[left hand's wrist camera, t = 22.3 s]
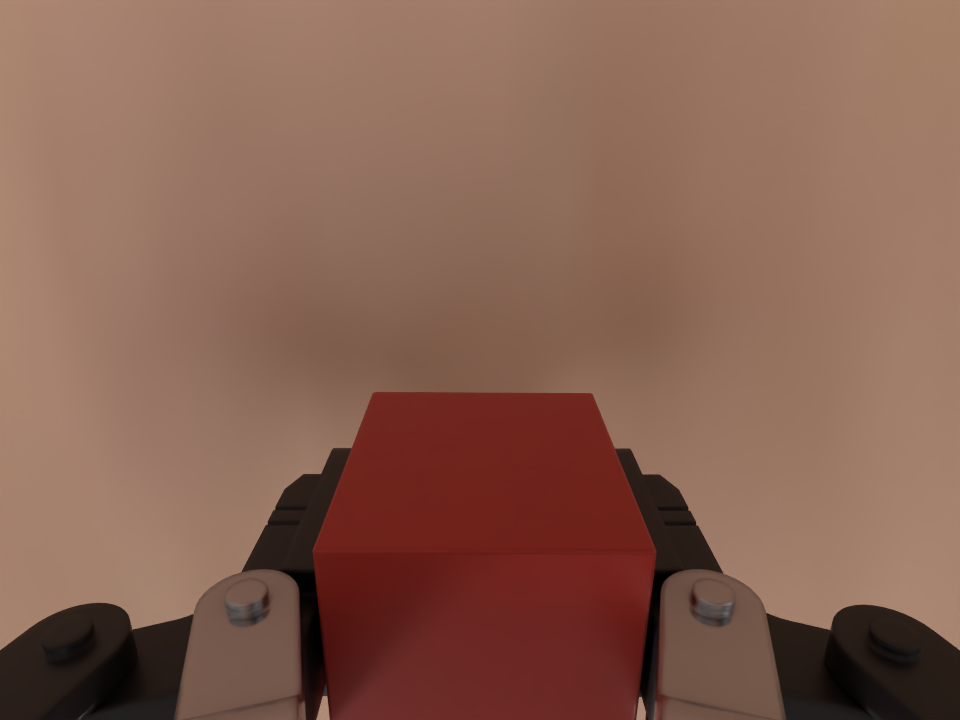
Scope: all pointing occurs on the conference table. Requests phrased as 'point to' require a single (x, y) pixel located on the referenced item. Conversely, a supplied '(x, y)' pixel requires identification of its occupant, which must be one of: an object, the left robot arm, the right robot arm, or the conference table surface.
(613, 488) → the block
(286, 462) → the conference table surface
